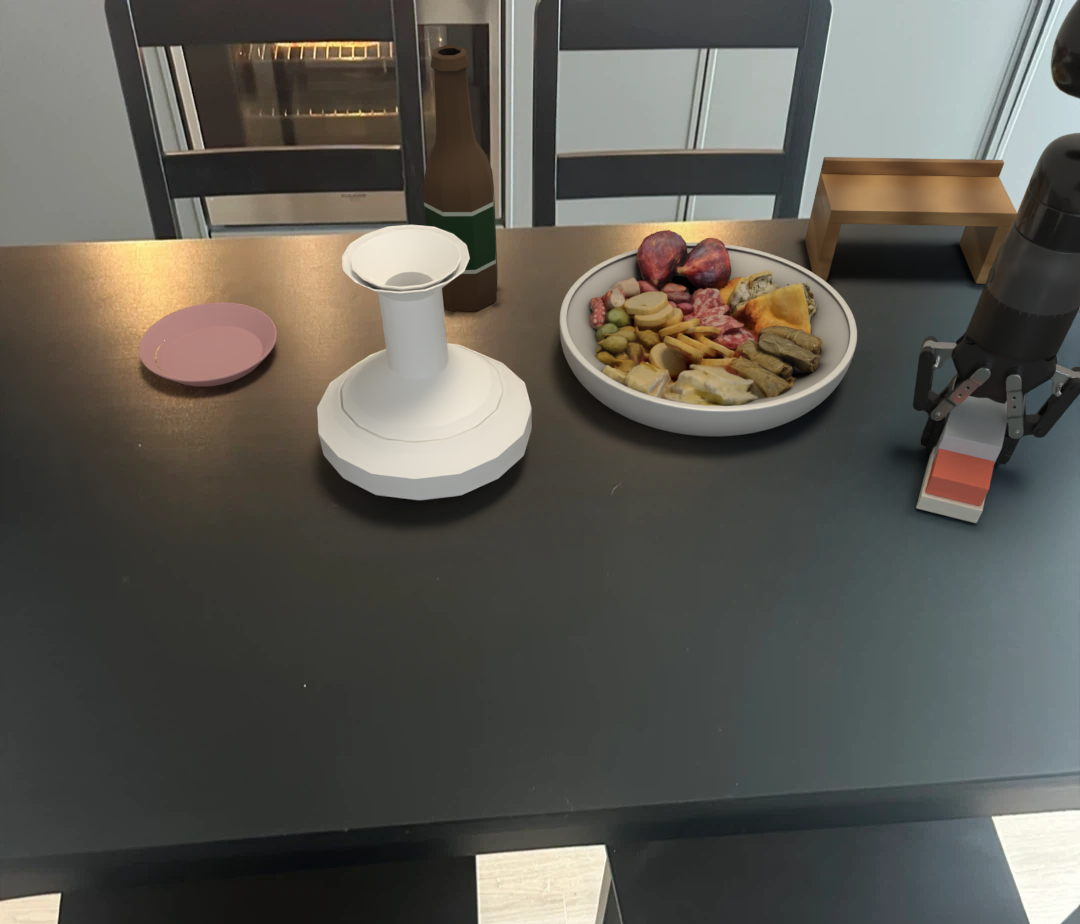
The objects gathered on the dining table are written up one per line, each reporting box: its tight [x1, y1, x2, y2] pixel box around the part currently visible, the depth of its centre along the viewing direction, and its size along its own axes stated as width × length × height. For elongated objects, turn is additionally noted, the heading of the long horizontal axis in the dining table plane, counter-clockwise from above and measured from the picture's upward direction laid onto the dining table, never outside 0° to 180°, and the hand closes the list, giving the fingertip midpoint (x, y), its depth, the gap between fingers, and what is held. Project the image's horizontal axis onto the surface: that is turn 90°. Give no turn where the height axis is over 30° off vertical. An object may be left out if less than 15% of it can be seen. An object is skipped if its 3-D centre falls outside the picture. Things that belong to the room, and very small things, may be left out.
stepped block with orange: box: [915, 396, 1008, 524], centre depth 86 cm, size 13×5×5 cm, turn 157°
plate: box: [138, 301, 278, 387], centre depth 99 cm, size 14×14×2 cm
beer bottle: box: [422, 44, 498, 312], centre depth 97 cm, size 8×8×24 cm
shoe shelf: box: [804, 156, 1018, 285], centre depth 106 cm, size 20×9×10 cm, turn 87°
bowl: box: [559, 229, 858, 437], centre depth 96 cm, size 30×30×8 cm
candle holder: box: [316, 224, 533, 501], centre depth 82 cm, size 20×20×19 cm
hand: (961, 454), depth 89 cm, fingers closed on stepped block with orange, 5 cm apart
